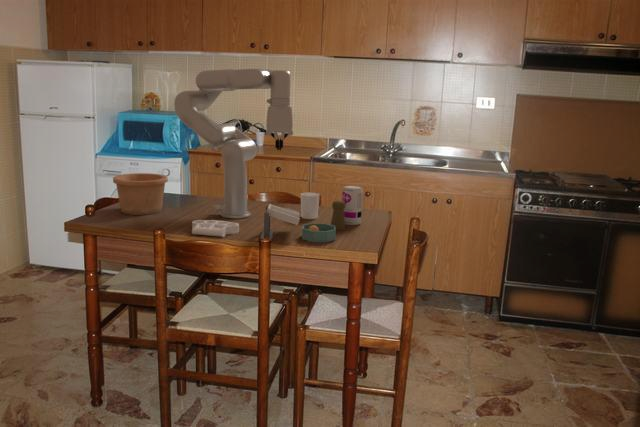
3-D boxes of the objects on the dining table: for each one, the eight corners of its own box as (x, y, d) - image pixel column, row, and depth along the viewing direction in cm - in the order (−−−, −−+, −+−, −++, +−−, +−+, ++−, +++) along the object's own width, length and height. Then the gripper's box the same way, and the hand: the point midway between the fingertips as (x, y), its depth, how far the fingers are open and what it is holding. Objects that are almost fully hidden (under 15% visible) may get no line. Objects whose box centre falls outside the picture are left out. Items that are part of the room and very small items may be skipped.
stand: (260, 241, 209) (260, 214, 207) (262, 231, 222) (263, 205, 220) (271, 241, 209) (271, 214, 207) (273, 231, 223) (273, 205, 220)
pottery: (174, 206, 259) (173, 174, 256) (159, 217, 238) (158, 182, 234) (125, 204, 260) (124, 172, 256) (106, 215, 238) (104, 180, 235)
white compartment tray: (183, 235, 214) (198, 226, 228) (231, 239, 211) (243, 229, 225) (183, 226, 213) (198, 217, 227) (231, 230, 211) (243, 221, 225)
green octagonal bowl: (302, 241, 210) (302, 231, 209) (302, 233, 222) (302, 222, 221) (336, 242, 211) (336, 231, 210) (334, 233, 223) (334, 223, 222)
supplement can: (347, 226, 235) (349, 189, 232) (337, 221, 242) (339, 185, 239) (364, 224, 239) (366, 188, 235) (354, 220, 246) (356, 184, 242)
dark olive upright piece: (329, 226, 234) (330, 199, 232) (344, 226, 235) (345, 199, 232) (330, 230, 228) (332, 202, 226) (346, 230, 229) (347, 202, 226)
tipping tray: (265, 214, 210) (268, 208, 209) (268, 204, 227) (270, 198, 227) (297, 225, 211) (299, 218, 210) (298, 214, 228) (300, 208, 228)
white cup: (316, 220, 243) (317, 196, 241) (298, 218, 244) (298, 195, 242) (320, 216, 250) (321, 193, 248) (302, 214, 252) (303, 191, 250)
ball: (310, 225, 213) (320, 229, 214) (310, 222, 217) (320, 226, 217) (306, 235, 214) (316, 239, 214) (306, 232, 218) (316, 236, 218)
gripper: (260, 102, 225) (259, 150, 229) (299, 104, 225) (297, 151, 229) (261, 101, 232) (260, 148, 236) (299, 103, 232) (298, 149, 237)
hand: (279, 149), depth 233 cm, fingers closed
